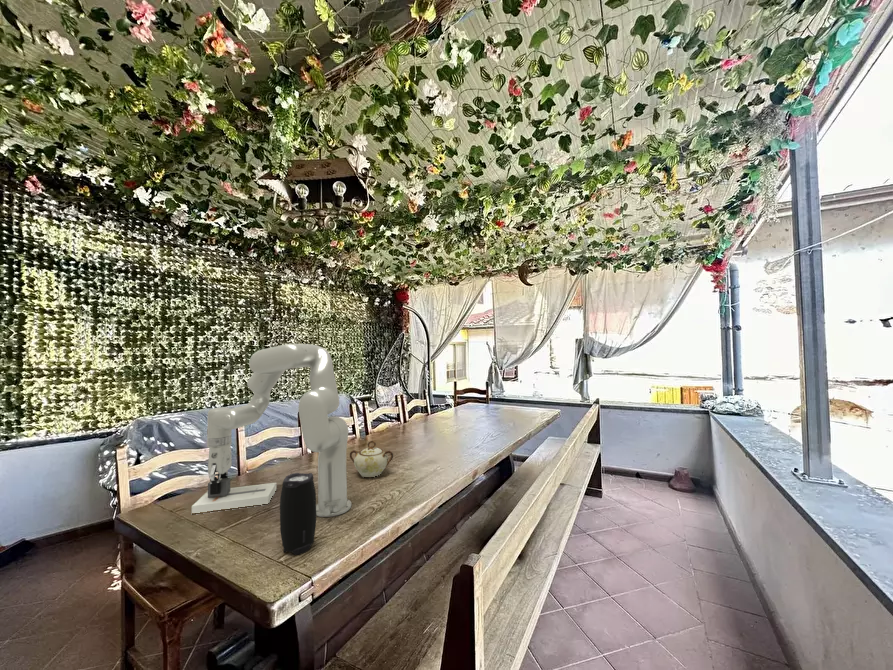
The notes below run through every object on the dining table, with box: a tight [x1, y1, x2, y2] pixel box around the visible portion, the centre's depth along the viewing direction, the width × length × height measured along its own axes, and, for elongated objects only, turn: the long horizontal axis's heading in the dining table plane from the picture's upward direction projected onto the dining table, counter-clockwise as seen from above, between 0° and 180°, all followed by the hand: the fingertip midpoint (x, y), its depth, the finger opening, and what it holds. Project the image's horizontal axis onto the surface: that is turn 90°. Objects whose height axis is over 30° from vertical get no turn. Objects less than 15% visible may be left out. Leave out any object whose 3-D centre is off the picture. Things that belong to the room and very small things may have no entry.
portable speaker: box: [279, 472, 317, 556], centre depth 95 cm, size 9×9×20 cm
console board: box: [191, 482, 277, 514], centre depth 127 cm, size 14×24×3 cm, turn 106°
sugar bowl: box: [349, 440, 394, 478], centre depth 151 cm, size 20×15×15 cm
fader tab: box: [207, 477, 231, 498], centre depth 125 cm, size 4×6×5 cm
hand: (219, 489), depth 125 cm, fingers open, 6 cm apart
